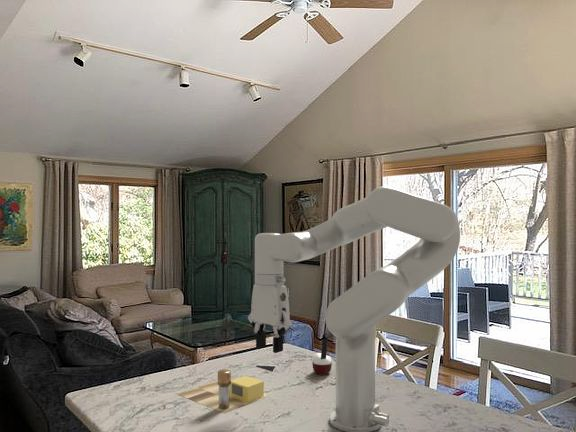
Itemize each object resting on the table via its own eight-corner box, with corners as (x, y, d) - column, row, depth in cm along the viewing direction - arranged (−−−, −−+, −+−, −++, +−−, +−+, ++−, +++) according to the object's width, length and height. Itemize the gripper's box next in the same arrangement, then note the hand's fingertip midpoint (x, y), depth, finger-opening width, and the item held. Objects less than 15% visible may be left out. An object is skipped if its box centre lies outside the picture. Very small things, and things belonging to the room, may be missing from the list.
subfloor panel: (268, 399, 127) (268, 394, 128) (224, 418, 115) (224, 413, 115) (220, 383, 141) (220, 379, 141) (176, 398, 128) (176, 393, 128)
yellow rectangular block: (263, 396, 127) (263, 381, 127) (247, 402, 122) (247, 387, 122) (245, 390, 131) (245, 375, 131) (229, 396, 127) (229, 381, 127)
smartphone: (245, 381, 143) (245, 378, 143) (256, 366, 158) (256, 363, 158) (267, 383, 142) (267, 380, 142) (277, 367, 157) (277, 364, 157)
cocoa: (314, 370, 154) (313, 333, 155) (333, 370, 153) (332, 333, 154) (310, 378, 145) (308, 339, 146) (330, 378, 144) (328, 339, 144)
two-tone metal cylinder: (233, 406, 119) (233, 371, 120) (223, 410, 117) (223, 374, 117) (224, 403, 122) (224, 368, 122) (214, 407, 119) (214, 371, 119)
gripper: (303, 281, 119) (304, 352, 119) (256, 276, 130) (256, 341, 130) (284, 284, 113) (284, 359, 113) (236, 279, 124) (236, 347, 124)
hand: (269, 349), depth 121 cm, fingers open, 5 cm apart
